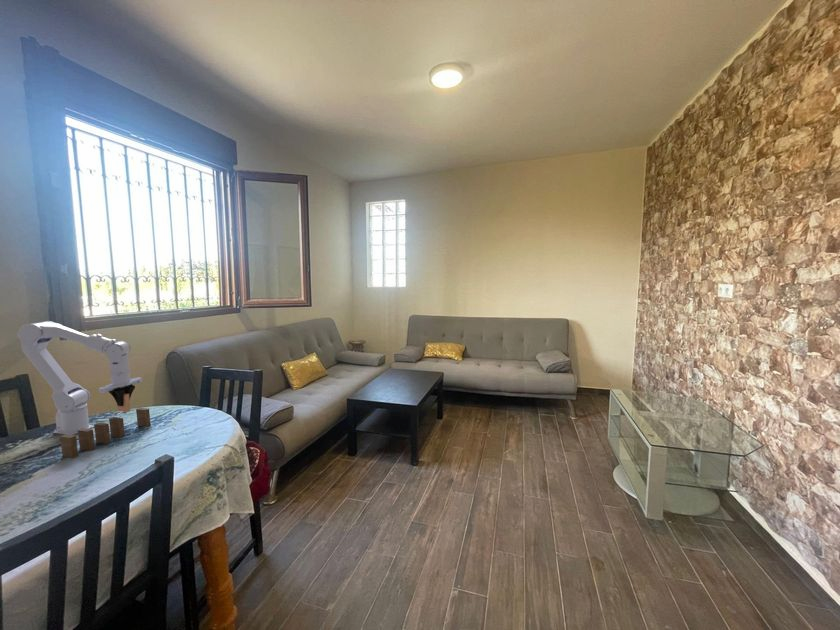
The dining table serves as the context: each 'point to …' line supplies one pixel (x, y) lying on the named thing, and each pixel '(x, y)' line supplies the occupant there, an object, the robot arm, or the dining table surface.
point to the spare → (125, 404)
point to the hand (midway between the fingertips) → (123, 404)
